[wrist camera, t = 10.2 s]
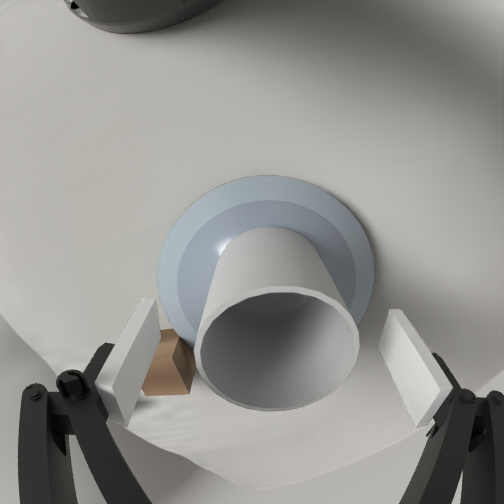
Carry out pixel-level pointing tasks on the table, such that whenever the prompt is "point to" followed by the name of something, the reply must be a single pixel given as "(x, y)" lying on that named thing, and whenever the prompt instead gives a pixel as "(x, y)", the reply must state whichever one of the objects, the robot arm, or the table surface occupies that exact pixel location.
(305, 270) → the cup
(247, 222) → the dish
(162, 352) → the walnut block
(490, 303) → the table surface
